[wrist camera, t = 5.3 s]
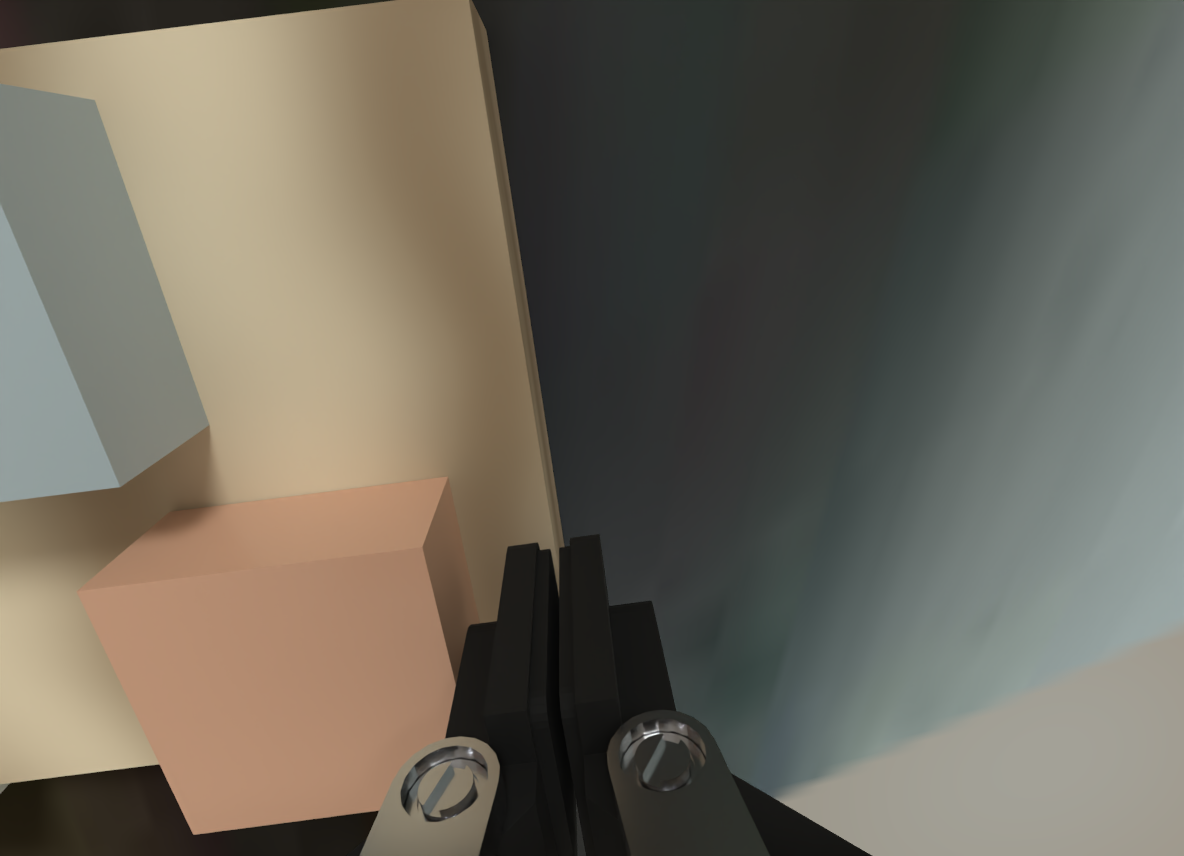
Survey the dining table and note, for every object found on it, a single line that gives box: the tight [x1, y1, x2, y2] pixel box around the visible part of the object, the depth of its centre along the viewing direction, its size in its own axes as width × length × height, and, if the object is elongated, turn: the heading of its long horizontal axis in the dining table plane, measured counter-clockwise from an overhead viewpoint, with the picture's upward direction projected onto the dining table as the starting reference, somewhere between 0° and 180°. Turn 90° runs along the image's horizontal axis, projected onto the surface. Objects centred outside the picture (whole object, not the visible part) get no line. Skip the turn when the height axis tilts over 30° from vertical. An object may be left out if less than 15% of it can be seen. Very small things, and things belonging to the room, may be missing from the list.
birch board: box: [0, 0, 564, 784], centre depth 12 cm, size 14×13×2 cm
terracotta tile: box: [76, 476, 480, 835], centre depth 11 cm, size 5×5×2 cm
